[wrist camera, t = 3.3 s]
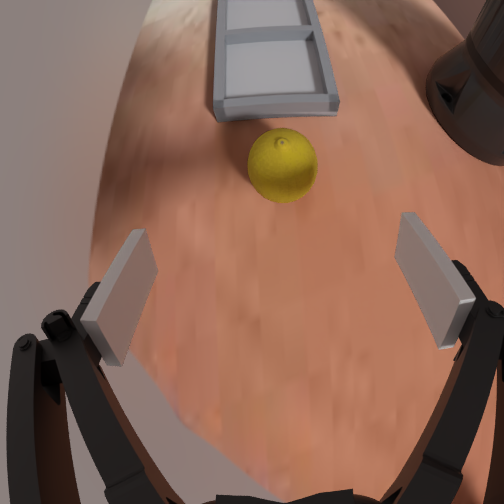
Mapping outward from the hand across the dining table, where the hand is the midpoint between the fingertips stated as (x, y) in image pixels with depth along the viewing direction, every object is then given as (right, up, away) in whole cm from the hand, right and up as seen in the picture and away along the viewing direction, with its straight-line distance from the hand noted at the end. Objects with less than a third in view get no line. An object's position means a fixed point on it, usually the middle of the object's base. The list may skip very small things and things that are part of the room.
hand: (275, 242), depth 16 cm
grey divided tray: (+1, +24, +16) cm, 29 cm away
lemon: (+2, +5, +13) cm, 14 cm away
